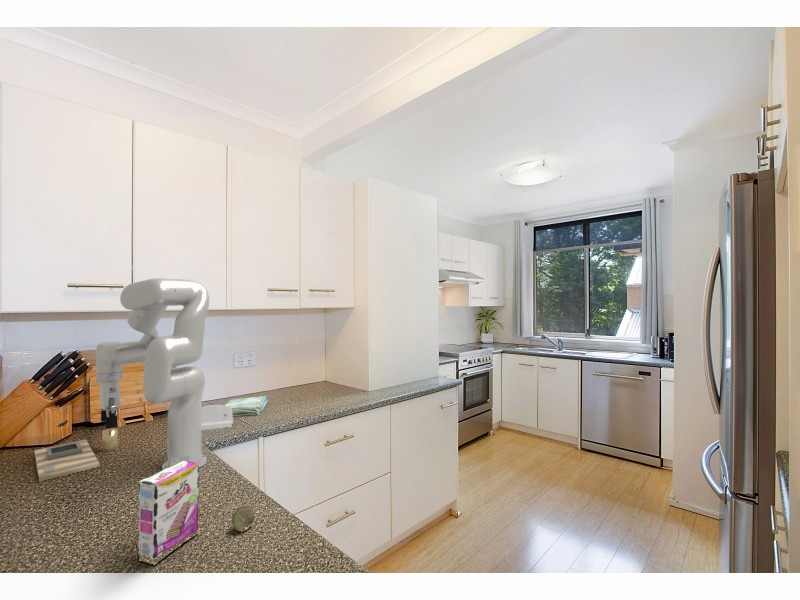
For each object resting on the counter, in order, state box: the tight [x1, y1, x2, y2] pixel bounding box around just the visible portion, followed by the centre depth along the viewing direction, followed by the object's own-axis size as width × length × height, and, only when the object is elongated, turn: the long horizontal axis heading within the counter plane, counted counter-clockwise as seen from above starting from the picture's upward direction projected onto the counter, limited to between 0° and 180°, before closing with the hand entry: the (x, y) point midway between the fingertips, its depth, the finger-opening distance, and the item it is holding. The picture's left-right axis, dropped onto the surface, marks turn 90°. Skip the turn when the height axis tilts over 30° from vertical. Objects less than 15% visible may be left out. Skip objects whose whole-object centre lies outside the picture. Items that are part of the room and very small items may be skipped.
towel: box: [224, 395, 268, 417], centre depth 186 cm, size 18×21×5 cm
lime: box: [231, 505, 255, 532], centre depth 89 cm, size 4×5×5 cm
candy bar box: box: [137, 461, 200, 558], centre depth 82 cm, size 11×5×16 cm, turn 163°
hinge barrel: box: [101, 427, 119, 452], centre depth 137 cm, size 4×4×7 cm
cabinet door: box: [33, 439, 100, 482], centre depth 128 cm, size 30×14×3 cm, turn 46°
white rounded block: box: [201, 404, 234, 431], centre depth 162 cm, size 17×5×10 cm, turn 108°
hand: (108, 424), depth 138 cm, fingers open, 9 cm apart
